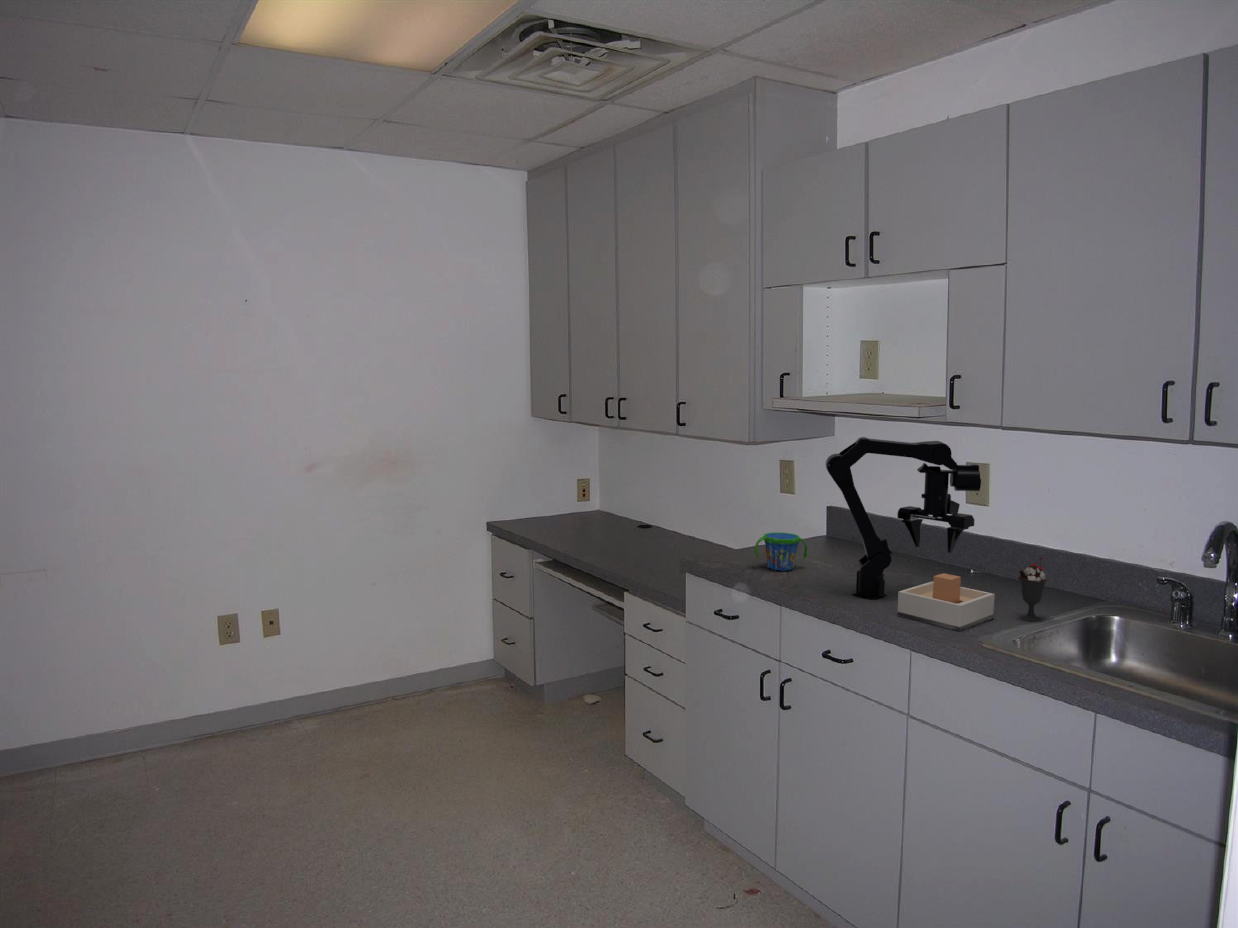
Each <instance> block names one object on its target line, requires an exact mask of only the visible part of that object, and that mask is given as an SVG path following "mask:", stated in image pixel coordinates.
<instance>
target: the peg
mask: <svg viewBox="0 0 1238 928" xmlns="http://www.w3.org/2000/svg"><path fill="white" fill-rule="evenodd" d="M961 579H962V577H961V576H958V575H954V574H948V573H939V574H936V575H934V576H933V598H934V599H938V600H943V601H947V602H952V603H956V604H958V603H960V587H961V583H962V582H961V581H962V580H961Z"/></svg>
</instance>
